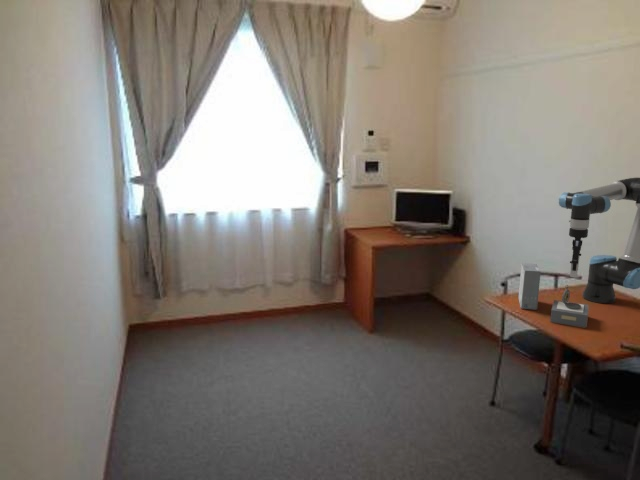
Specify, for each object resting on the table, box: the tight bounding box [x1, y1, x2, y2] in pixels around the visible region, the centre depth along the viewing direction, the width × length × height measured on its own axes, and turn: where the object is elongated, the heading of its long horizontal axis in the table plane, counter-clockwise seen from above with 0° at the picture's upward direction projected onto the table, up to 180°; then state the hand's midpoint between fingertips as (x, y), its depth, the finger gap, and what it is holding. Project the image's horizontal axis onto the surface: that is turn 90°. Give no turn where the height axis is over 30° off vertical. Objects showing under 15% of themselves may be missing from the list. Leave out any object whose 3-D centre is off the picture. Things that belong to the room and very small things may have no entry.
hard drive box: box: [518, 262, 542, 311], centre depth 255 cm, size 16×8×20 cm, turn 164°
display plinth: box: [549, 299, 590, 329], centre depth 236 cm, size 15×15×6 cm
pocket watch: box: [561, 284, 581, 309], centre depth 235 cm, size 8×8×10 cm
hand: (574, 273), depth 232 cm, fingers open, 13 cm apart
